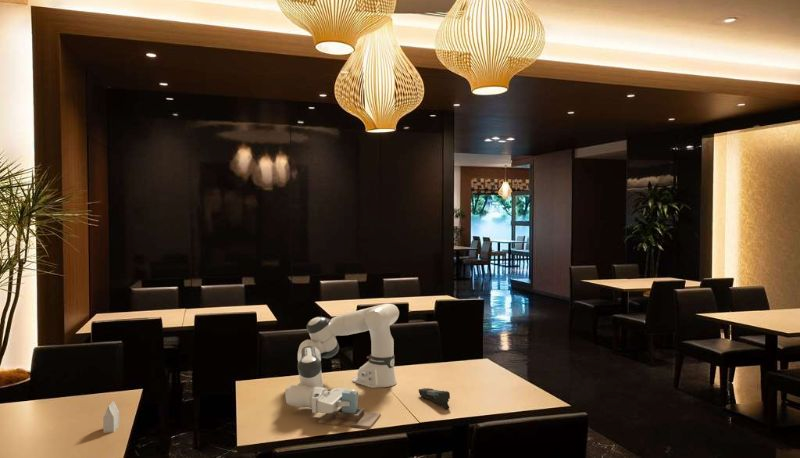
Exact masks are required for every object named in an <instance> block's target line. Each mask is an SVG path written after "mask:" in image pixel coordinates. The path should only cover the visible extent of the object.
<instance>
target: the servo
mask: <svg viewBox="0 0 800 458" xmlns="http://www.w3.org/2000/svg"><path fill="white" fill-rule="evenodd" d="M342 401H350V402H351V405H350V406H343V407H341V408H342V413H351V414H357V413H358V408H359V391H358V390H356V389H349V390H345V391H343V392H342Z"/></svg>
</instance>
